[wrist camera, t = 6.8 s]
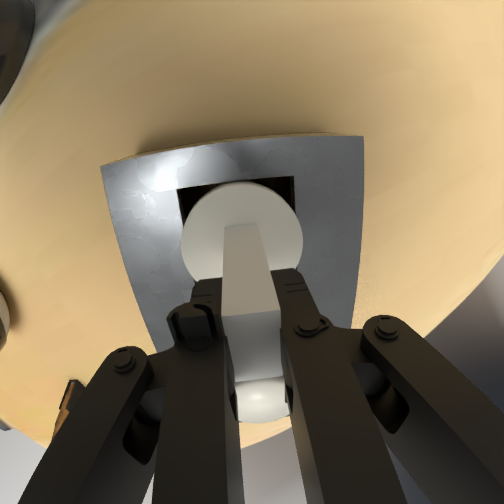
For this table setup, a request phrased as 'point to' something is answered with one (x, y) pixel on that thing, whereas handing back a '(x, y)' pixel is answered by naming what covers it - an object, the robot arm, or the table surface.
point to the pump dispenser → (3, 321)
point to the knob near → (239, 213)
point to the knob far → (261, 400)
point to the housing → (234, 169)
